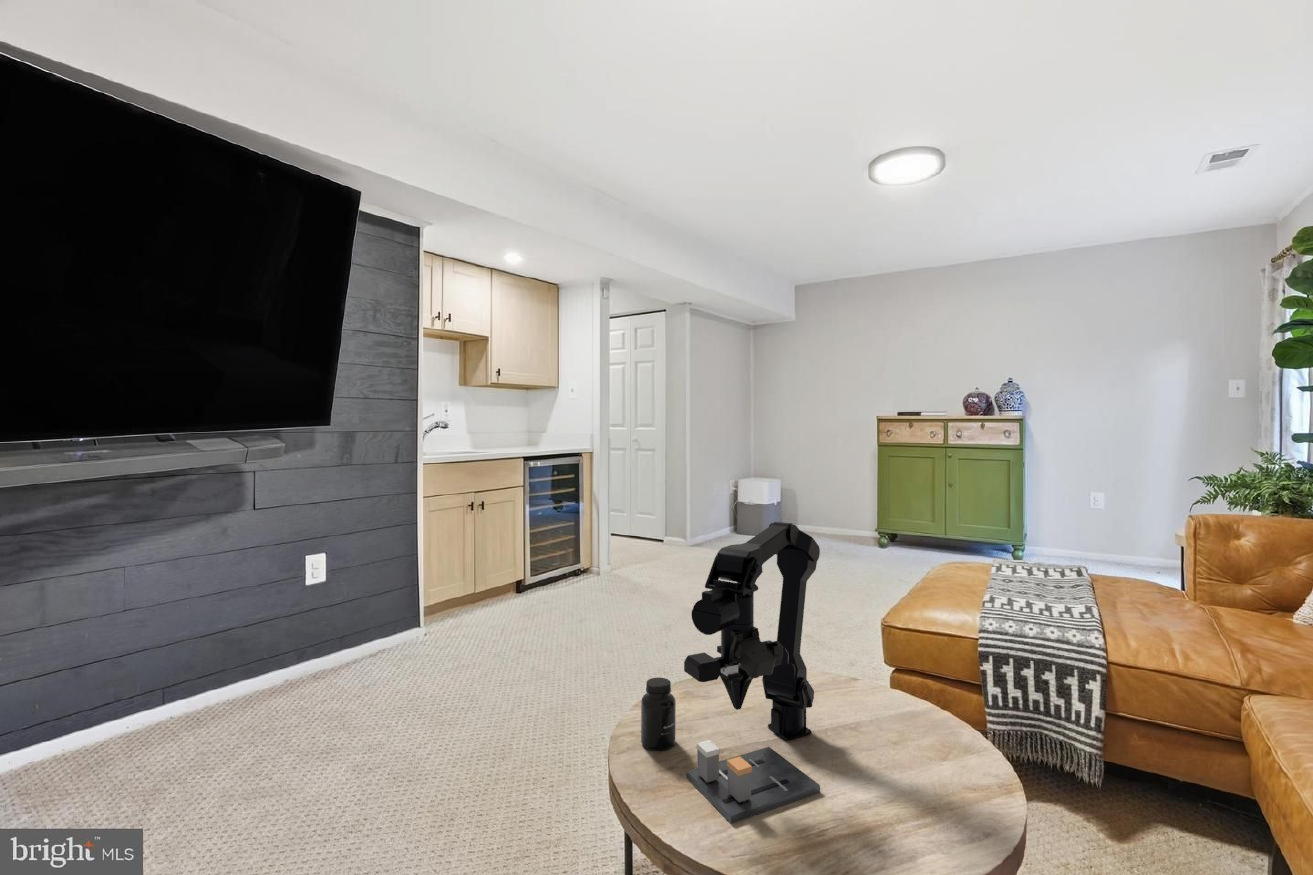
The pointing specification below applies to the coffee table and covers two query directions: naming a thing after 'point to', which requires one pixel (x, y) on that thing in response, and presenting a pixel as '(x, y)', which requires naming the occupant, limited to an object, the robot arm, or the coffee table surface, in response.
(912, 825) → the coffee table surface
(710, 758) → the fader
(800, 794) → the board
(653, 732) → the supplement bottle
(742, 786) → the fader
